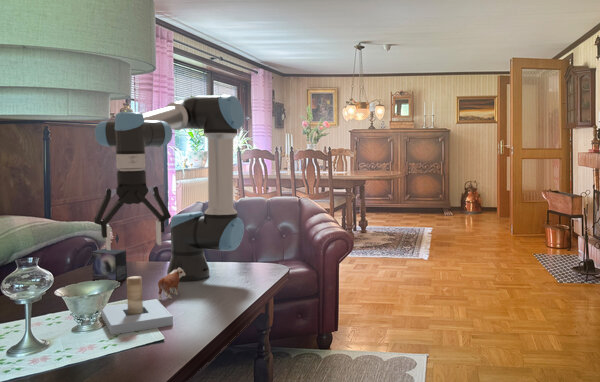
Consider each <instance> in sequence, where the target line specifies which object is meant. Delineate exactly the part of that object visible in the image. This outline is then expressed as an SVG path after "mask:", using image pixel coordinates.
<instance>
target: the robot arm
mask: <svg viewBox="0 0 600 382" xmlns="http://www.w3.org/2000/svg"><path fill="white" fill-rule="evenodd" d="M114 117H115V118H114V120H103V121H99V122H98V124H96V126H95V128H94V136H95V137H94V138H95V140H96V142H97V143H98V144H99V145H101V146H102V147H109V148H112V147H115V149H116V150H115V151H116V152H115V155H116V160H115V161H116V169H118V170H117V172H116V182H117V184H116V185H117V186H116V188H115V189H114V188H109V187H108V188H105V190H104V198H103V200H102V202H101V204H100V205H99V208H98V210H97V212H96V214H95V217H94V219H93V223H94V224H95V225H99V226H100V228H101V229H100V231H101V232H100V233H101V234H100V235H101V238H103V239H105V248H106V249H107V250H111V249H112V248H111V227H110V224H109V222H110V221H111V220H112V219H113V217H114V216H115V215H116V214H117V213H118V211H119V210H120V209H121V207H122V206H124V204H125V205H132V204H136V205H137V204H138V205H139V204H140V203H142V204H143V206H145V207H146V208H147V209H148V210H149V211H150V213H152V214H153V215H154V216H155V218H157V219H158V220H155V236H156V237H155V238H156V240H155V241H156V245H158V246H162V234H163V233H165V222H166V220H168V219H170V227H169V229H170V248H171V250H170V251H171V254H170V255H171V256H170V260H169V263H168V266H167V270H166V274H167V275H168V274H169V273H171V272H172V271H173V270H174V269H178V268H181V269H182V270H183V271H184V273H185V276H182V277H181V278H179V282H189V281H191V282H192V281H199V280H202V279H206V278H208V277H210V267H209V263H208V262H207V258H206V256H205V250H208V251H209V250H210V251H211V250H212V251H220V252H233V251H235V250H236V249H238V248H239V246H240V244H241V243H242V240H243V238H244V233H245V225H244V222H243V221H244V220H243V219H241V218H240V217H238V211H237V210H236V209H235V208H234V139H235V138H236V136H237V135H238V130H239V129H241V128H242V127H243V125H244V122H245V114H244V107H243V105H242V103H241V102H240V100H239V98H237V97H236V96H235V95H232V94H213V95H194V96H193V95H192V96H190V97H186V98H183V99H180V100H176V101H174V102H170V103H168V104H166V106H165V107H162V108H158V109H155V110H151V111H147V112H144V113H142V112H137V111H136V112H127V111H126V112H125V111H122V112H121V111H120V112H117V113H116V114H115V116H114ZM186 129H187V130H188V129H189V130H190V129H191V130H192V129H194V130H203V135H204V136H205V137H206V138H207V146H208V147H207V149H208V151H207V157H208V159H207V164H208V165H207V167H208V168H207V169H208V171H207V172H208V173H207V176H208V177H207V179H208V180H207V184H208V186H207V190H208V192H207V193H208V195H207V196H208V200H207V201H208V203H207V205H208V207H207V208H206V210H204V212H203V211H193V212H192V211H191V212H185V213H183V212H182V213H179V214H175V215H171V214H170V211H169V209H168V208H167V206H166V205H165V203H164V202H165V201H164V200H163V199H162V197H161V195H160V191H159V187H158V186H157V185H153V186H149V187H148V186H147V171H146V170H144V169H145V168H146V149H145V148H151V147H152V148H153V147H154V148H157V147H158V148H161V147H164V146H167V145H169V143H170V142H171V141H172V139H173V130H174V131H180V130H186ZM148 193H149V194H150V195H152V196H153V198H154V200H155V201H156V203H157V205H158V207H159V209H160V210H161V212H162V214H163V215H162V214H161V213H160V212H159V210H157V209H156V208H155V206H153V204H152V203H151V202H149V200H148V199H147V198H146V196H147V194H148ZM115 194H116V195H117V197H118V199H117V201H115V203H114V205H113V206H112V207H111V208H110V210H108V212H107V214H105V212H106V210H107V207H108V205H109V204H110V201H111V199H112V198H113V197H114V196H115ZM104 214H105V216H104ZM103 216H104V217H103ZM167 275H166V276H167Z"/></svg>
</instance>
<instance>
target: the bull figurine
mask: <svg viewBox="0 0 600 382" xmlns="http://www.w3.org/2000/svg"><path fill="white" fill-rule="evenodd" d="M182 276H185V273H184V271H183V270H182V269H181V268H178V269H174V270H173V271H172V272H171V273H169V274H168V275H166V276H163V277H162V278H160V279H159V281H158V283H157V286H158V296H159V297H158V301H162V300H163V298H162V293H164V295H165V297H167V298H168V299H169V300H170V299H171V300H173V297H172V295H171V294H174V295H175V296H178V295H179V294H178V288H179V284H180V281H179V278H181V277H182ZM173 288H174V290H173Z"/></svg>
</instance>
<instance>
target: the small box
mask: <svg viewBox="0 0 600 382" xmlns="http://www.w3.org/2000/svg"><path fill="white" fill-rule="evenodd" d="M91 261H92V279H93V278H95V279H109V280H116V281H120V282H122V281H124V280H127V278H128V273H127V272H128V270H127V268H128V267H127V266H128V265H127V250H125V249H116V248H111V250H107V249H106V247H103V248H100V249H96V250H94V251H91Z"/></svg>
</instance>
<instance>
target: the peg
mask: <svg viewBox="0 0 600 382" xmlns="http://www.w3.org/2000/svg"><path fill="white" fill-rule="evenodd" d="M126 293H127V295H126V296H127V297H126V298H127V303H128V316H130V315H137V314H143V301H144V300H143V299H144V298H143V278H142V276H140V275H138V276H137V275H136V276H135V275H134V276H129V277H128V276H127V279H126Z"/></svg>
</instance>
